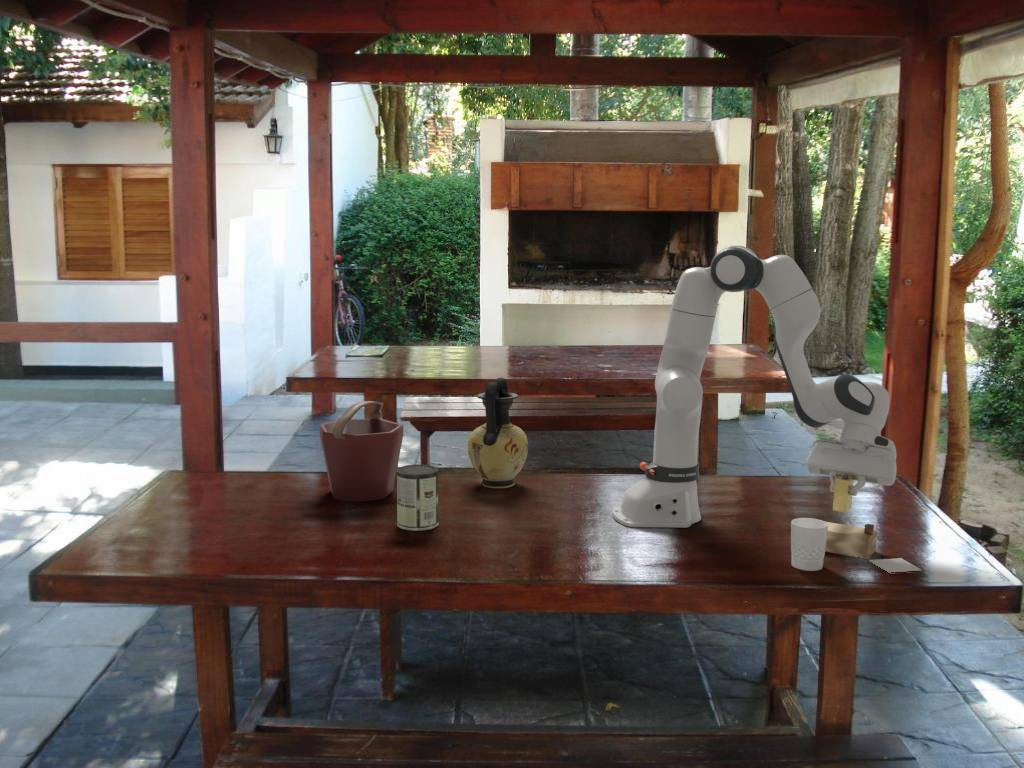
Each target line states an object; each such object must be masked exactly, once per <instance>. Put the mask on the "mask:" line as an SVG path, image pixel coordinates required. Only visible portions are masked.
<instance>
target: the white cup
mask: <svg viewBox="0 0 1024 768" xmlns="http://www.w3.org/2000/svg"><path fill="white" fill-rule="evenodd" d="M790 522H791V523H790V524H791V525H790V552H791V560H790V561H791V564H790V565H791V566H792V567H793V568H795V569H798V570H800V571H806V572H816V571H820V570H822V569H823V567H824V560H825V559H824V557H825V554H826V551H825V549H826V541H827V532H828V523H826V522H827V521H824V520H822V519H817V518H813V517H812V518H811V517H797V518H794V519H792V520H791V521H790Z"/></svg>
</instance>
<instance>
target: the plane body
mask: <svg viewBox="0 0 1024 768" xmlns="http://www.w3.org/2000/svg"><path fill="white" fill-rule="evenodd" d="M825 522H826V523H828V532H827V541H826V549H825V553H826V552H827V553H832V554H838V555H841V556H842V555H843V556H848V557H853V556H854V558H858V557H860V558H859V559H863V558H865V559H864V560H869V558H870V557H872V555H873V554H874V553H876V551H877V550H876V549H877V539H878V538H877V536H878V530H876V529H875V525H874V524H871V523H865V524H864V527H860V526H853V525H847V524H843V523H842V524H841V523H836V522H835V523H834V522H830V521H825Z"/></svg>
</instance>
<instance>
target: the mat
mask: <svg viewBox="0 0 1024 768" xmlns="http://www.w3.org/2000/svg"><path fill="white" fill-rule="evenodd" d="M868 560H869V561H870V562H869V563H871V562H872V563H873V564H872V563H871V564H872V565H874V564H875V565H876V567H877V566H878V567H877V568H879V567H880V568H881V570H882V569H883V570H885V571H887V572H888V573H890V574H892V573H891V572H894V573H893V574H896V573H895V572H907V571H919V570H922V569H921V568H919V567H917V565H914V564H913V563H910V562H909V561H907V560H905V559H903V558H902V557H897V558H882V559H881V558H879V559H868ZM875 565H874V566H875ZM880 568H879V569H880ZM883 570H882V571H883ZM885 571H884V572H885ZM887 572H886V573H887ZM888 573H887V574H888ZM907 573H908V572H907Z"/></svg>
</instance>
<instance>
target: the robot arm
mask: <svg viewBox="0 0 1024 768" xmlns="http://www.w3.org/2000/svg"><path fill="white" fill-rule="evenodd" d="M753 289H754V290H756V291H757V292H759V293H760V295H761V296H762V298H763V299H764V301H765V303H766V305H767V307H768V309H769V311H770V313H771V315H772V318H773V322H774V328H775V332H774V343H775V344H774V345H775V347H776V351H777V354H778V358H779V360H780V363H781V366H782V369H783V372H784V375H785V377H786V379H787V380H786V381H787V383H788V386H789V389H790V392H791V395H792V401H793V407H794V410H795V413H796V416H797V417H798V419H799V420H800V421H802V423H803V424H805V425H807V426H808V427H811V428H815V429H817V428H822V427H823V426H825V425H828V424H830V423H832V422H833V421H837V420H839V419H840V420H842V421H843V422H844V424H843V427H842V431H841V432H840V437H839V438H838V440H835V439H827V438H824V437H823V438H819V439H817V440H814V441H813V442H812V444H811V447H810V452H809V454H808V456H807V458H806V461H805V465H806V469H807V471H808V472H809V473H810V474H814V475H820V476H821V475H822V476H826V477H829V480H830V486H829V492H831V493H834V489H835V479H836V478H837V477H839V476H840V475H842V474H848V476H852V477H854V481H857V482H856V483H855V484H853V485H851V486H850V489H849V493H850V495H852V497H853V496H854V497H857V494H858V492H859V491H860V490H861V489H862V488H864V487H865V485H866V484H867V483H868V484H875V485H881V486H887V487H890V486H892V485H894V484H895V481H896V478H897V471H898V470H897V469H898V467H897V461H896V460H897V448H896V445H895V442H894V441H893V440H892V439H890V438H887V437H884V436H882V435H881V433H882V430H883V428H884V427H885V425H886V422H887V418H888V415H889V410H890V394H889V392H888V390H887V389H886V388H885V387H884V386H883V385H881V384H879V383H878V382H873V381H861V380H860V379H858V378H857V377H856V376H854V375H852V374H849V373H842V374H840V375H837V376H834V377H831V378H829V379H827V380H825V381H822V382H819V383H816V382H815V381H814V379H813V376H812V373H811V370H810V368H809V365H808V361H807V359H806V356H805V352H804V348H805V344H806V341H807V339H808V337H809V336H810V335H811V333H812V332H814V330H815V328H816V327H817V325H818V323H819V321H820V318H821V313H822V308H821V305H820V301H819V299H818V297H817V295H816V293H815V291H814V289H813V287H812V285H811V284H810V282H809V280H808V278H807V276H806V275H805V274H804V272H803V271H802V269H801V268H800V266H799V265H798V263H796V261H795V260H794V258H792V257H791V256H790V255H786V254H777V255H773V256H770V257H768V258H766V259H761V258H760V256H759V255H758V254H757V252H756V251H754V250H753V249H751V248H749V247H746V246H743V245H731V246H729V247H725V248H723V249H722V250H720V251H718V252H717V253H716V254H715V255H714V257H713V258H712V260H711V263H710V266H709V267H700V266H696V267H690V268H688V269H685V270H684V271H683V273H682V274H681V275H680V278H679V280H678V283H677V285H676V288H675V292H674V294H673V298H672V304H671V306H670V311H669V312H670V313H669V317H668V318H669V319H668V323H667V328H666V333H665V337H664V342H663V346H662V350H661V354H660V357H659V361H658V362H659V363H658V366H657V369H656V374H655V379H654V389H655V393H656V411H655V412H656V413H655V423H654V433H653V434H654V435H653V457H652V458H653V460H652V461H651V462H650V463H649V464H648V463H647V462H645V461H641V462H640V464H639V469H640V470H641V471H644V472H645V476H644V477H643V478H642V479H640V480H639V481H638V482H636V483H634V484H633V485H632V486H630V487H629V488H628V489H626V490H625V491H624V493H623V496H622V499H621V504H620V507H615V508H614V509H612V513H611V514H612V518H613V519H614V520H615V521H617V522H618V523H619V524H620V525H623V526H626V527H629V528H630V527H631V528H684V529H685V528H686V529H687V528H690V527H691V526H692V525H693V524H695V523H698V522H700V521H701V520H702V515H701V512H700V507H699V501H698V500H699V499H698V485H699V477H700V471H699V469H700V468H699V467H700V465H699V463H698V453H699V451H698V450H699V436H700V435H699V432H700V426H701V425H700V424H701V418H702V417H701V416H702V409H703V408H702V406H703V396H704V395H703V393H704V391H703V390H704V389H703V385H702V383H701V375H702V373H703V372H702V371H703V367H704V365H705V361H706V356H707V354H708V351H709V349H710V346H711V345H710V344H711V341H712V335H713V330H714V325H715V321H716V320H715V319H716V315H717V311H718V305H719V301H720V299H721V297H722V295H723V294H724V293H726V292H727V293H728V292H729V293H739V292H744V291H749V290H753Z"/></svg>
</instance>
